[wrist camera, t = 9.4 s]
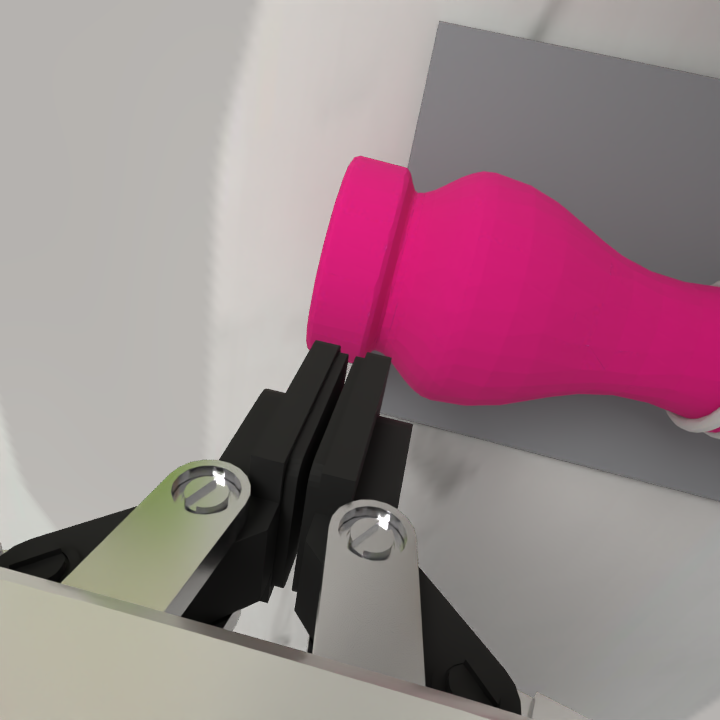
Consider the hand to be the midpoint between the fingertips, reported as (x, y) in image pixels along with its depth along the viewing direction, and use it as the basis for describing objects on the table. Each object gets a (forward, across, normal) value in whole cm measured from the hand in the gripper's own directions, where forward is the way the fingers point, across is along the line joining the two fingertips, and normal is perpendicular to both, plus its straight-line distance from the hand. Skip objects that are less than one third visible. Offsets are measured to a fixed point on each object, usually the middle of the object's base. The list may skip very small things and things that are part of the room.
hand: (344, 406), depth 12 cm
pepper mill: (+7, +2, -1) cm, 7 cm away
